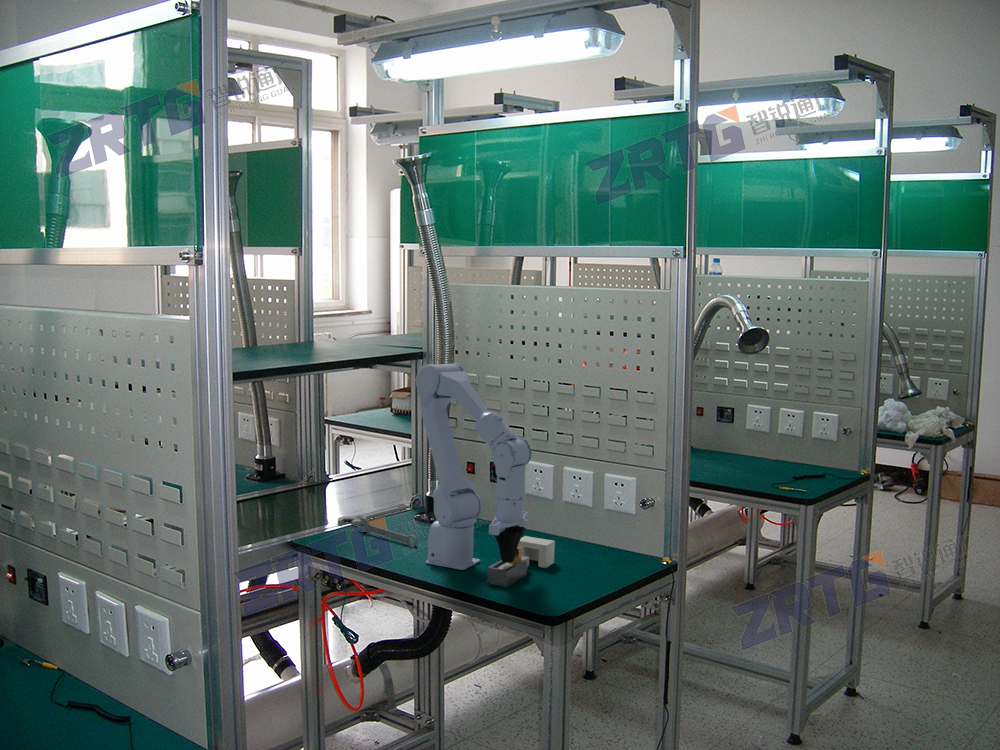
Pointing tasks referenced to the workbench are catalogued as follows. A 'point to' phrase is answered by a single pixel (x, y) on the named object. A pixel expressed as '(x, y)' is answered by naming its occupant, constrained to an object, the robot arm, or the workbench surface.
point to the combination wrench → (388, 533)
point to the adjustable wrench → (371, 514)
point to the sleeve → (506, 573)
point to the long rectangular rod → (515, 559)
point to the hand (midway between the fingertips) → (507, 561)
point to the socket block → (538, 550)
